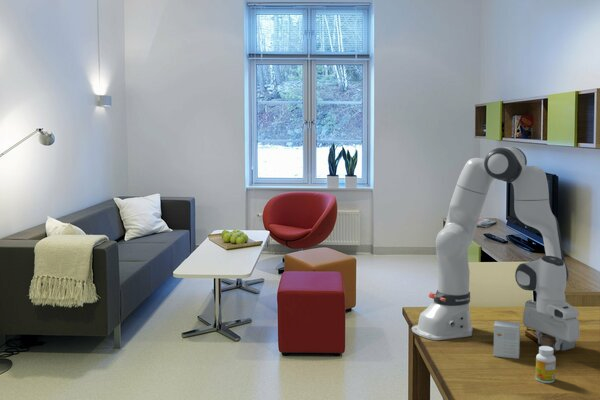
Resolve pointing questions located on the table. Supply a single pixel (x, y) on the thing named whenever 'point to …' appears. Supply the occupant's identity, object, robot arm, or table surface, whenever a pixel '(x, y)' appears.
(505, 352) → the small box
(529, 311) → the robot arm
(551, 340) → the walnut cylinder
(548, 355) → the supplement bottle
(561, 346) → the base block
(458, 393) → the table surface
